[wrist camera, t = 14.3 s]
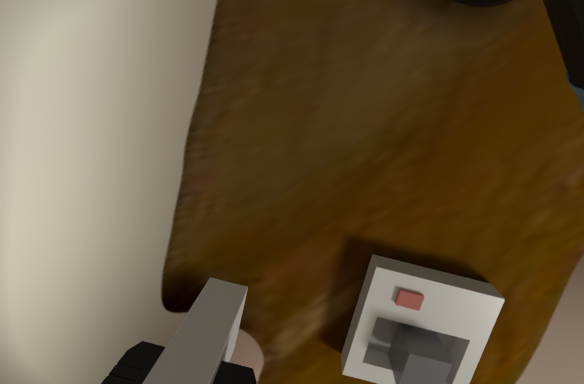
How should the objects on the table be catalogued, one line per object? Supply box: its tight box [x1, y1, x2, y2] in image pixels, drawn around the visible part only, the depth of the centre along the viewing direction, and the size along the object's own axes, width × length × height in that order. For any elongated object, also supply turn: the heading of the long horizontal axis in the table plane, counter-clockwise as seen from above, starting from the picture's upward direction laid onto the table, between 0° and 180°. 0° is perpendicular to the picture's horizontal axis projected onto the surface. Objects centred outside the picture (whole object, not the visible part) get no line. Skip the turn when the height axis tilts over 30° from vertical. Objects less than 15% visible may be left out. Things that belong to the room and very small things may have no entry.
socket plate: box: [341, 254, 505, 384], centre depth 49 cm, size 16×16×5 cm
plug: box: [388, 322, 452, 384], centre depth 48 cm, size 5×5×8 cm
